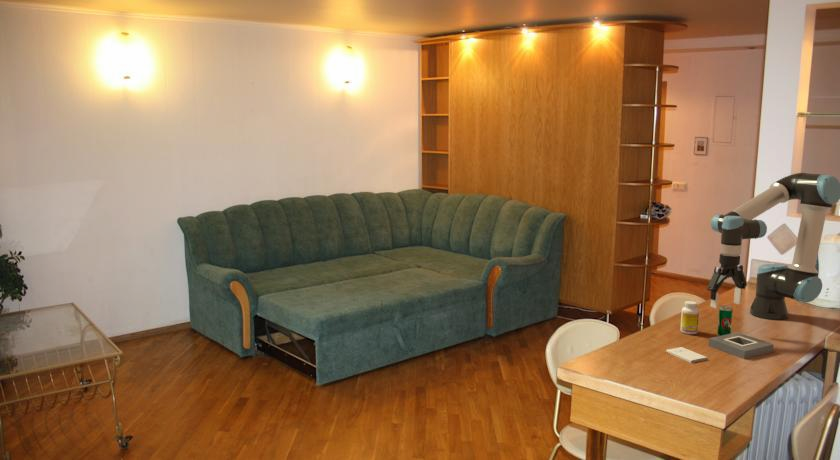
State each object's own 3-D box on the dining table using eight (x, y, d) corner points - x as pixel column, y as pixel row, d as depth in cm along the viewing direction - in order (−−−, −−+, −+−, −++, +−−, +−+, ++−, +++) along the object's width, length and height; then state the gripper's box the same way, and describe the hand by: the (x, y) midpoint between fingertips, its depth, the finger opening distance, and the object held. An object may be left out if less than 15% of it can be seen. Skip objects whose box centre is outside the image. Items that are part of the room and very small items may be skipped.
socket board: (736, 339, 264) (737, 331, 263) (772, 351, 250) (773, 343, 249) (708, 345, 257) (708, 337, 257) (744, 358, 243) (744, 350, 242)
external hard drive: (690, 364, 240) (665, 353, 251) (707, 361, 243) (682, 350, 254) (691, 360, 239) (666, 349, 251) (707, 357, 242) (682, 346, 254)
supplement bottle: (698, 335, 269) (701, 305, 267) (681, 334, 270) (683, 304, 268) (695, 330, 276) (697, 300, 273) (678, 329, 277) (680, 299, 275)
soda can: (720, 332, 273) (722, 304, 271) (732, 334, 269) (734, 306, 267) (715, 335, 269) (717, 306, 267) (727, 337, 266) (730, 309, 264)
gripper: (743, 250, 272) (738, 299, 276) (700, 255, 261) (696, 306, 265) (759, 253, 266) (754, 304, 269) (716, 258, 255) (711, 311, 258)
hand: (725, 305), depth 267 cm, fingers open, 13 cm apart
